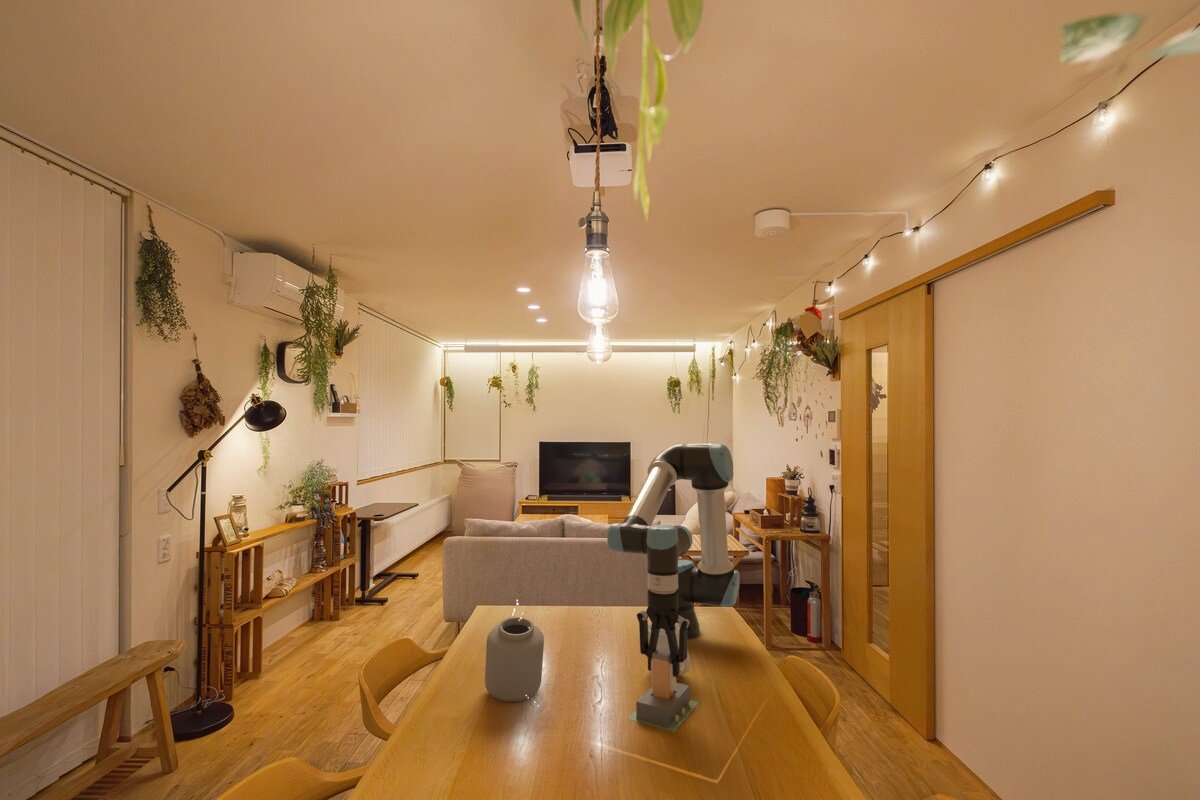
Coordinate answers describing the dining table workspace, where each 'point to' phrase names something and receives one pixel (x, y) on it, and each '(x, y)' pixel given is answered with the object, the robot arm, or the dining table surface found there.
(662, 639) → the mug
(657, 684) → the plug
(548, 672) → the dining table surface
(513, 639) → the jar
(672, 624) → the robot arm
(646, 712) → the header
